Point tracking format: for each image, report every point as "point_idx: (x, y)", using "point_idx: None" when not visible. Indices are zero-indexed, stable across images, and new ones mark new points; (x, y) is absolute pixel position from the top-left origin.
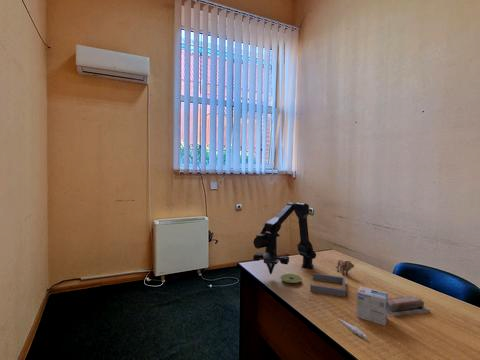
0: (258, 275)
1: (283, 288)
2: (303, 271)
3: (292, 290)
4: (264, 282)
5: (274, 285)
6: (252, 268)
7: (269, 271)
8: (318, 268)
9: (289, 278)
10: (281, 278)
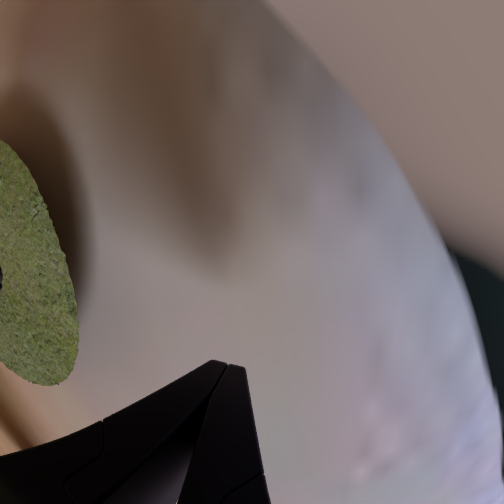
0: (444, 389)
1: (60, 36)
2: (38, 437)
3: (4, 48)
4: (352, 130)
5: (161, 60)
6: (456, 496)
7: (243, 399)
8: (13, 446)
9: (7, 278)
10: (50, 237)
